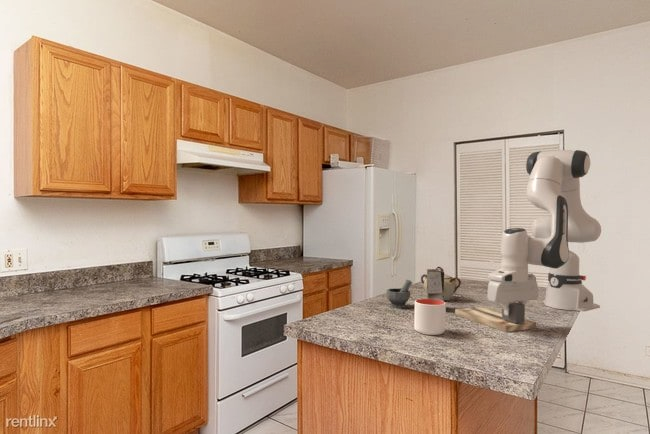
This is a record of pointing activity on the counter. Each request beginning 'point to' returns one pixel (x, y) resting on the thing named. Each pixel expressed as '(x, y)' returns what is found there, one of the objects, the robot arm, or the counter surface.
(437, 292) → the coffee box
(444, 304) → the cup
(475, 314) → the fader panel
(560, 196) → the robot arm
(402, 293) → the mortar and pestle
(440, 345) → the counter surface
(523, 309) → the fader
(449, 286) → the sugar bowl
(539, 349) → the counter surface
